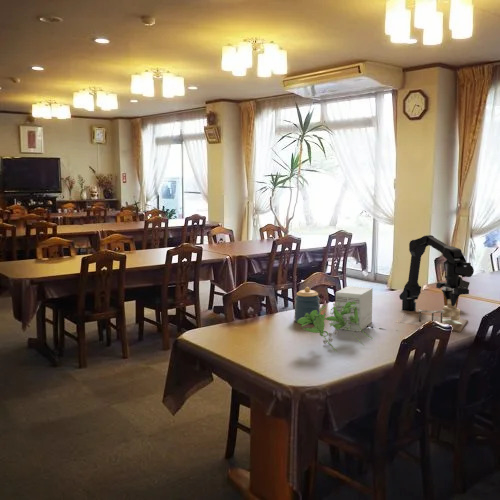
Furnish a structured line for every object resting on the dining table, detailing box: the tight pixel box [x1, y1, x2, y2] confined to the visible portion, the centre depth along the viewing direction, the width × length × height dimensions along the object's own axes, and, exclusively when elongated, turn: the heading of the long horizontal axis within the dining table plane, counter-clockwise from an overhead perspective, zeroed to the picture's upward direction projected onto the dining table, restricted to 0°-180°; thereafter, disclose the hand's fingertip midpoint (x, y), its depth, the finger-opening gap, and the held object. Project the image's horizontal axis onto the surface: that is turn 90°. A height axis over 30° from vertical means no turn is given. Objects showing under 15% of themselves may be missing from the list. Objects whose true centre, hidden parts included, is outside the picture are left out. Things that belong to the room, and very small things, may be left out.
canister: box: [293, 286, 321, 325], centre depth 273 cm, size 13×13×18 cm
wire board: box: [396, 309, 469, 333], centre depth 268 cm, size 30×22×7 cm
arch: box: [442, 299, 461, 321], centre depth 266 cm, size 4×8×10 cm, turn 14°
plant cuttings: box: [296, 302, 374, 352], centre depth 230 cm, size 35×17×22 cm
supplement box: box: [335, 285, 373, 333], centre depth 263 cm, size 17×13×18 cm
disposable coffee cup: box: [441, 288, 460, 308], centre depth 298 cm, size 10×10×12 cm
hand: (451, 305), depth 266 cm, fingers closed on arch, 2 cm apart
